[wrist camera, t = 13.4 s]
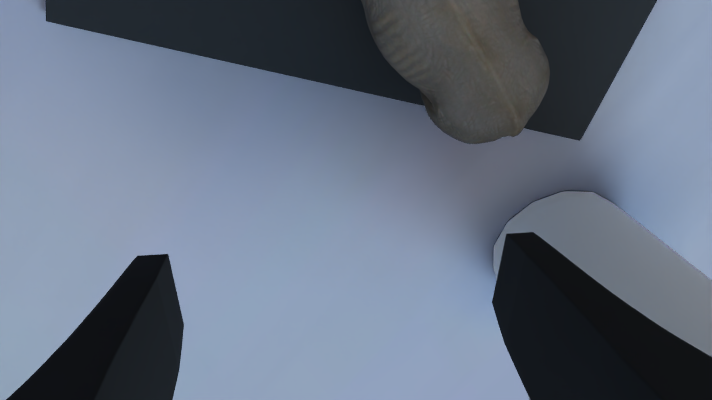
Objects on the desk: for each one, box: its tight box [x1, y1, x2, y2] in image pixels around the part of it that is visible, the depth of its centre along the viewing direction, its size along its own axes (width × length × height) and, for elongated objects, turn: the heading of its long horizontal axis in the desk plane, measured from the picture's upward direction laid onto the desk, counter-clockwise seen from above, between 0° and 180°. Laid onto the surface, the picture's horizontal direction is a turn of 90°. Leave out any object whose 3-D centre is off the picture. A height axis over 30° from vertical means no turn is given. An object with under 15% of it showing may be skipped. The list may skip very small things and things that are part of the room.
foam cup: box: [493, 191, 712, 400], centre depth 21 cm, size 10×9×13 cm
